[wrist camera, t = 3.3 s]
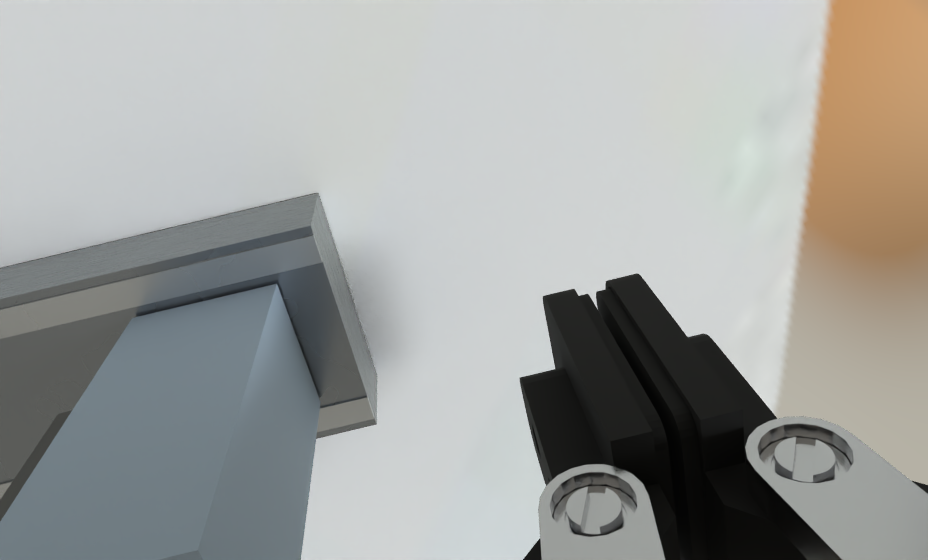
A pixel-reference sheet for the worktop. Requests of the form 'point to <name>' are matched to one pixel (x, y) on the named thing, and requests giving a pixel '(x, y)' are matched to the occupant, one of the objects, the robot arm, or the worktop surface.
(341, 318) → the rail
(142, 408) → the block
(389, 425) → the worktop surface
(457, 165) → the worktop surface
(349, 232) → the worktop surface
